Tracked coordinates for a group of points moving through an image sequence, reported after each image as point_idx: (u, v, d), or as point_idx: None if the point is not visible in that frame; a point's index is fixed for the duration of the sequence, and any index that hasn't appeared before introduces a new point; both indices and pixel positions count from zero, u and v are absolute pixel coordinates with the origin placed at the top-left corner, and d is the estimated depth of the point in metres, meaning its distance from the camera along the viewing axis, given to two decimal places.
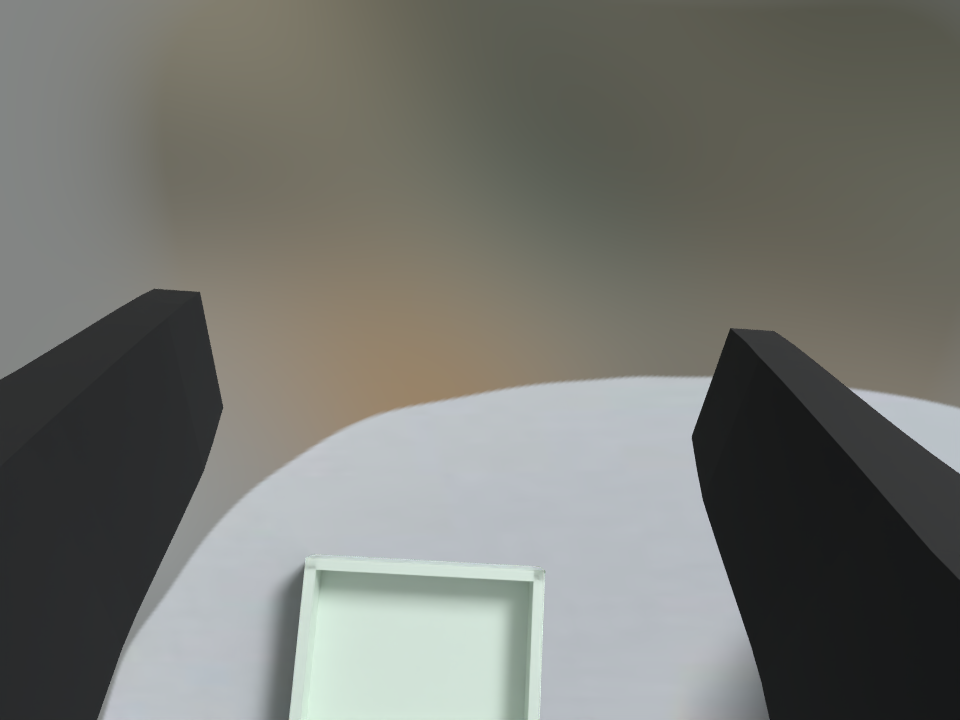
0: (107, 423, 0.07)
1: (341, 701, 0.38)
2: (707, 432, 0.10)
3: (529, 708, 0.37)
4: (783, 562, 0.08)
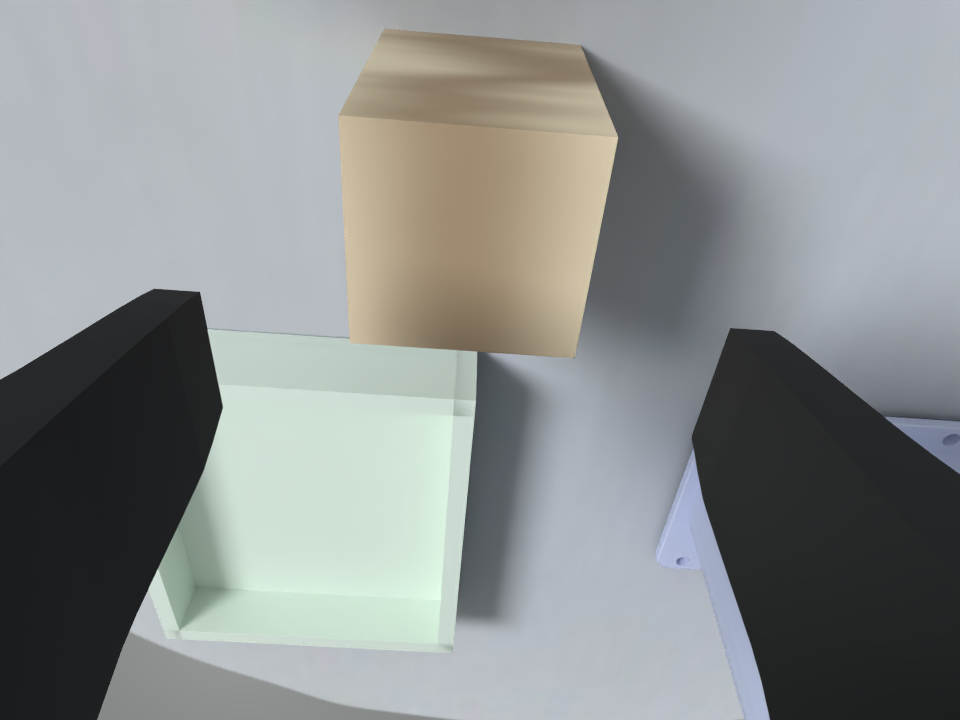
0: (107, 423, 0.07)
1: (370, 569, 0.27)
2: (707, 432, 0.10)
3: (332, 406, 0.19)
4: (783, 562, 0.08)
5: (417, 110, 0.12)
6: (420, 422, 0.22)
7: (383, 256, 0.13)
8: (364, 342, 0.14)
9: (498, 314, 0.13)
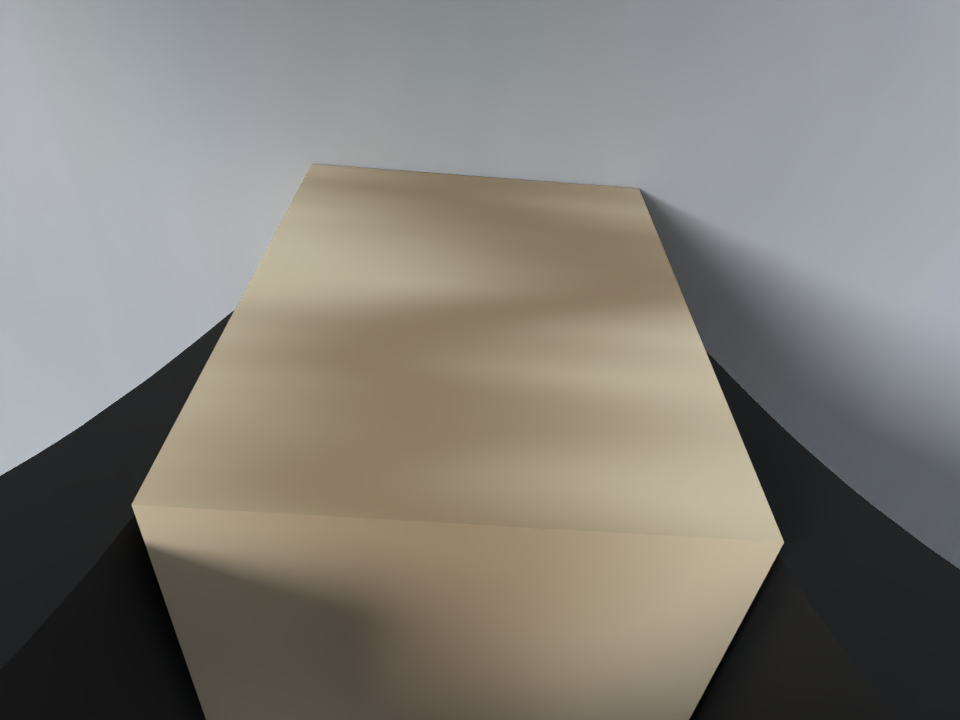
0: None
1: None
2: None
3: None
4: None
5: (327, 453, 0.05)
6: None
7: (272, 694, 0.06)
8: None
9: None
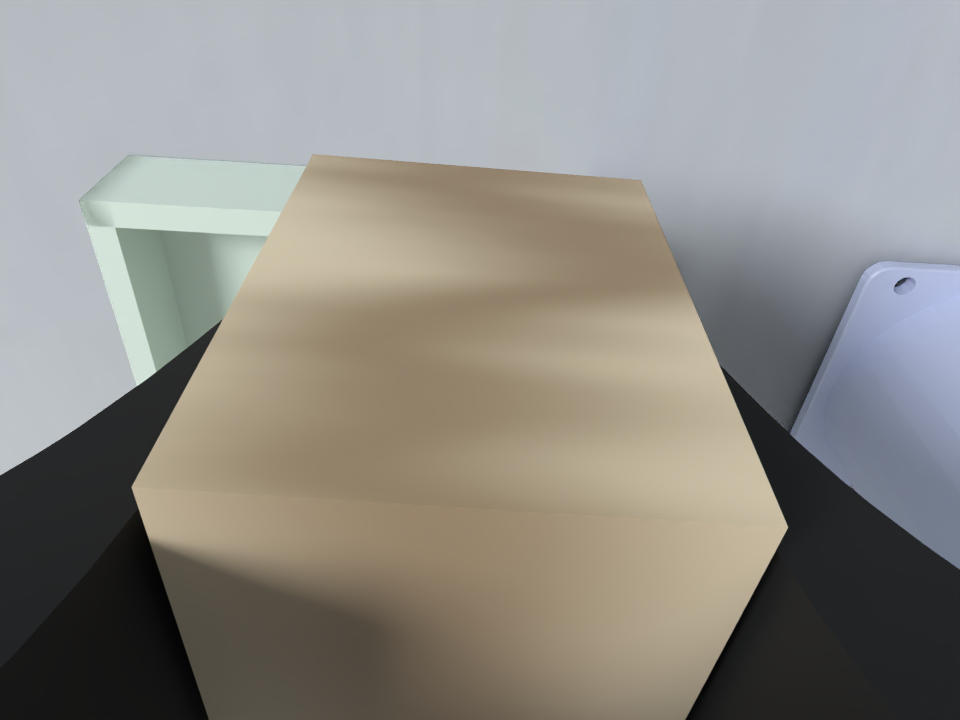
0: None
1: None
2: None
3: None
4: None
5: (329, 437, 0.05)
6: None
7: (273, 683, 0.06)
8: None
9: None
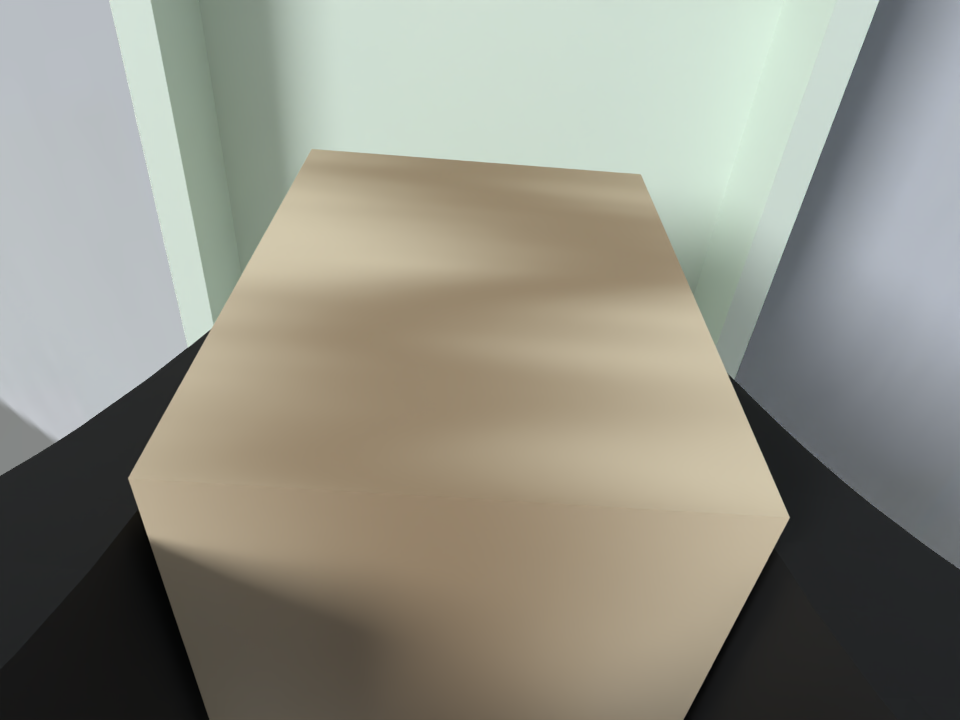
0: None
1: None
2: None
3: None
4: None
5: (327, 428, 0.05)
6: (717, 17, 0.12)
7: (270, 675, 0.06)
8: None
9: None
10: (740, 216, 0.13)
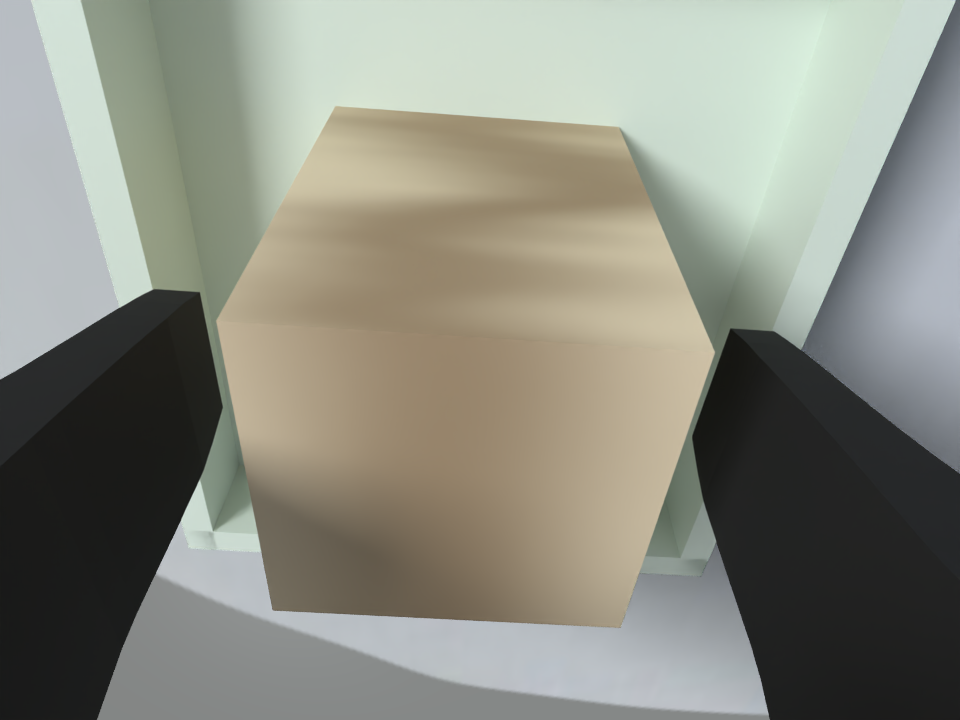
0: (107, 423, 0.07)
1: None
2: (707, 432, 0.10)
3: None
4: (783, 562, 0.08)
5: (362, 294, 0.07)
6: (746, 43, 0.10)
7: (314, 510, 0.08)
8: (295, 609, 0.09)
9: (502, 578, 0.08)
10: (769, 266, 0.11)
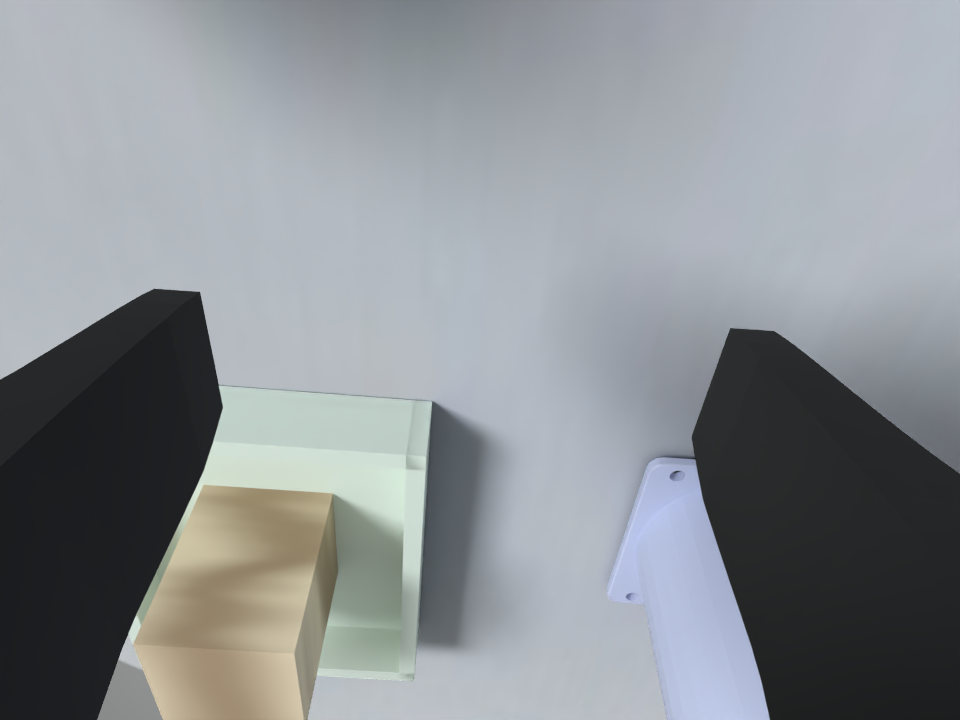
0: (107, 423, 0.07)
1: (336, 601, 0.28)
2: (707, 432, 0.10)
3: (292, 459, 0.21)
4: (783, 562, 0.08)
5: (184, 628, 0.20)
6: (379, 469, 0.24)
7: (173, 690, 0.21)
8: None
9: (251, 712, 0.22)
10: None
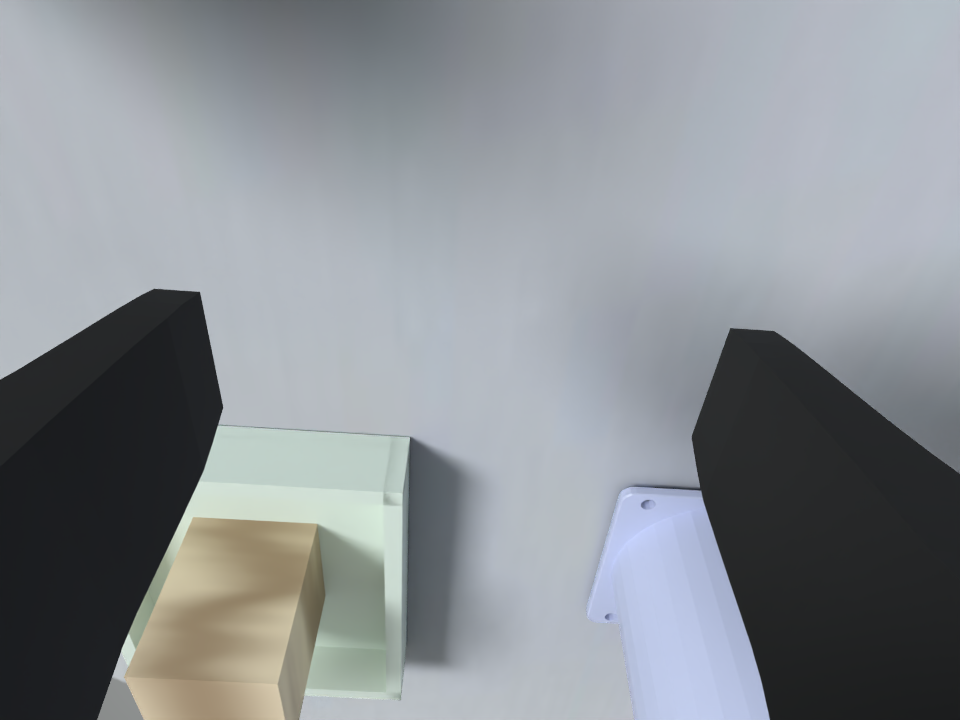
0: (107, 423, 0.07)
1: (325, 624, 0.29)
2: (707, 432, 0.10)
3: (275, 497, 0.22)
4: (783, 562, 0.08)
5: (172, 660, 0.21)
6: None
7: (164, 718, 0.22)
8: None
9: None
10: None
